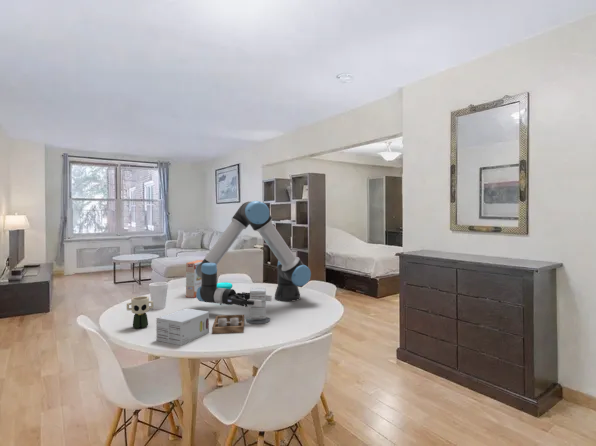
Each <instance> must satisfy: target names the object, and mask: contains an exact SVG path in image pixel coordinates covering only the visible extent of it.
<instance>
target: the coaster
mask: <svg viewBox="0 0 596 446" xmlns="http://www.w3.org/2000/svg"><path fill="white" fill-rule="evenodd" d="M270 321H271V318H270V317H268V316H266V318H250V316H249V317H247V318H246V321H245V322H246V323H247V324H251V325H262V324H268V323H269V322H270Z"/></svg>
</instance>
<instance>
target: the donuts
mask: <svg viewBox="0 0 596 446" xmlns="http://www.w3.org/2000/svg"><path fill="white" fill-rule="evenodd" d="M217 288H226V289H233V283H231V282H217Z"/></svg>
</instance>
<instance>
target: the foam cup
mask: <svg viewBox="0 0 596 446" xmlns="http://www.w3.org/2000/svg"><path fill="white" fill-rule="evenodd" d="M168 289H169V282H166V281H158V282H151V283H149V284H148V290H149V294H150V301H153V308H151V309H152V310H155V311H158V310H164V309H166V303H167V296H168Z"/></svg>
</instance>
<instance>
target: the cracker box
mask: <svg viewBox="0 0 596 446" xmlns="http://www.w3.org/2000/svg"><path fill="white" fill-rule="evenodd" d="M203 260H204V259H196V260H193V261H189V262H186V264H185V298H191V299H194V298H197V297H196V293H197V289H198V288H199V287H201V284H202V281H201V277H199V276H198V275H197V273H196V267H197V265H198V264H200V263H202V261H203Z"/></svg>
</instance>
